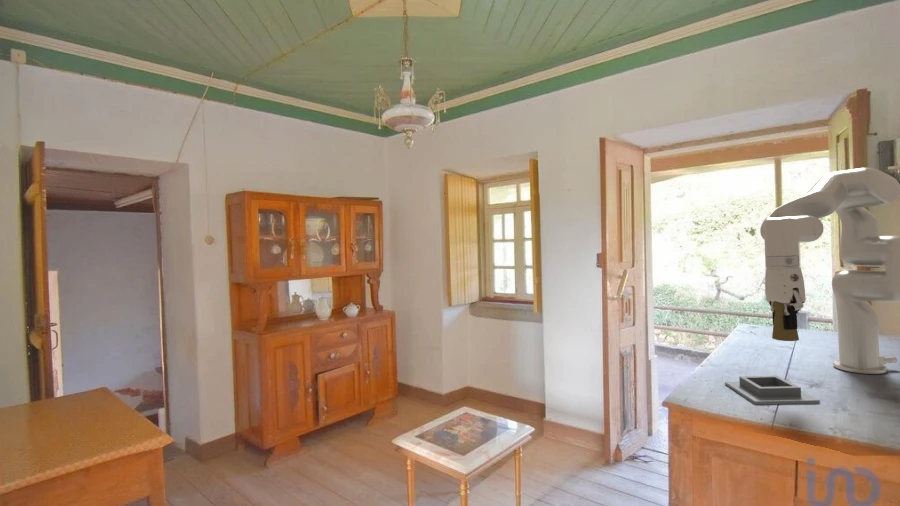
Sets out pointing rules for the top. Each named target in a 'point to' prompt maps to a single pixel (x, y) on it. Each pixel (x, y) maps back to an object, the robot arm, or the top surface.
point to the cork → (782, 325)
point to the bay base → (770, 390)
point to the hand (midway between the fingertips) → (784, 326)
